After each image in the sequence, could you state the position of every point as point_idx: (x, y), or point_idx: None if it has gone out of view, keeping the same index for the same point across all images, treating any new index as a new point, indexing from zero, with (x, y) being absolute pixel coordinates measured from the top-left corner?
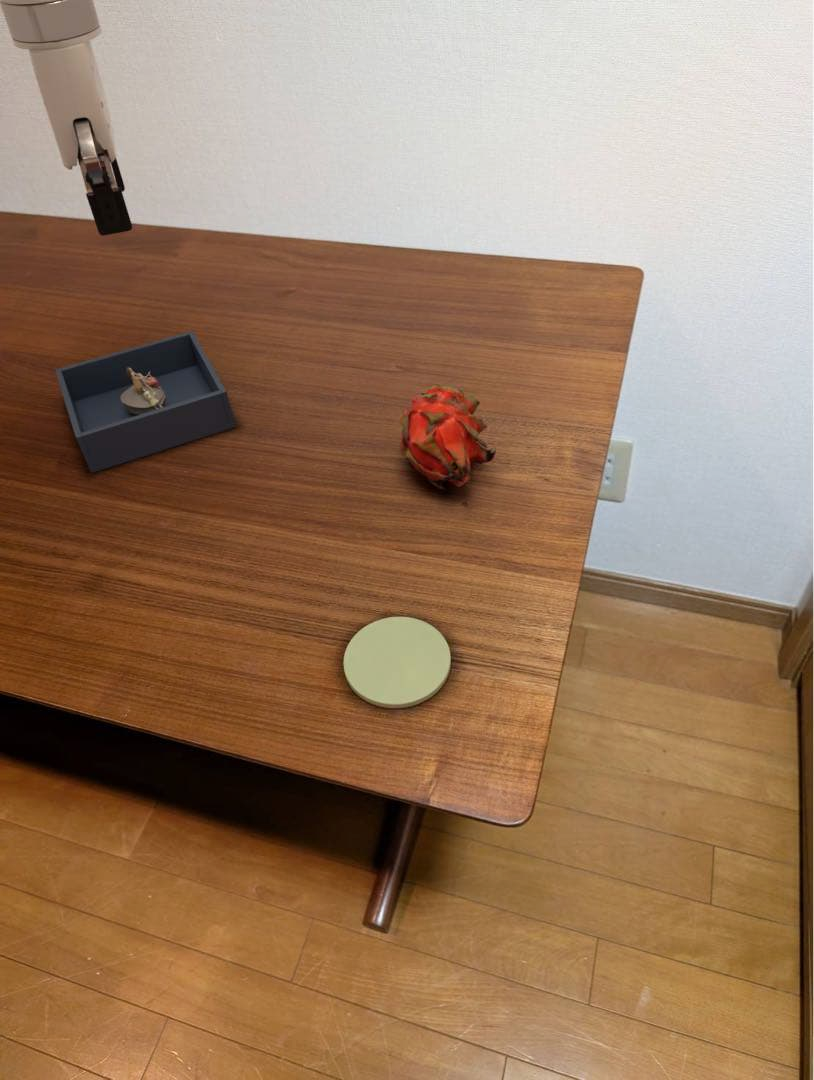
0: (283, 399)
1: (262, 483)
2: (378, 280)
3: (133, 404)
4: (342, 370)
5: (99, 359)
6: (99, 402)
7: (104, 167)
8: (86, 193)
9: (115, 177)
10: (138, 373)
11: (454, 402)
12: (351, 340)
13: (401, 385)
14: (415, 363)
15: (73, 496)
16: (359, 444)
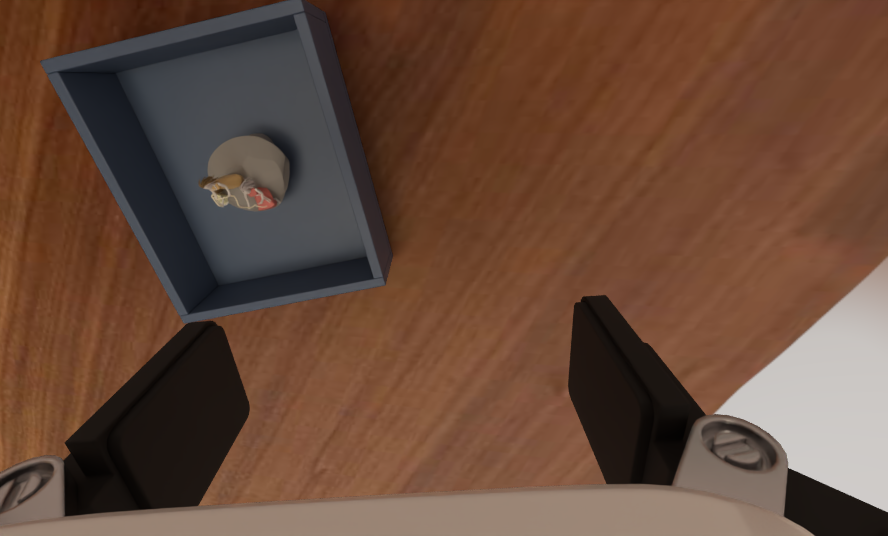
0: (277, 351)
1: (93, 310)
2: (535, 483)
3: (212, 162)
4: (330, 420)
5: (323, 106)
6: (302, 79)
7: (606, 432)
8: (87, 444)
9: (586, 417)
10: (242, 190)
11: None
12: (398, 437)
13: (284, 467)
14: (327, 485)
15: (46, 31)
16: None
